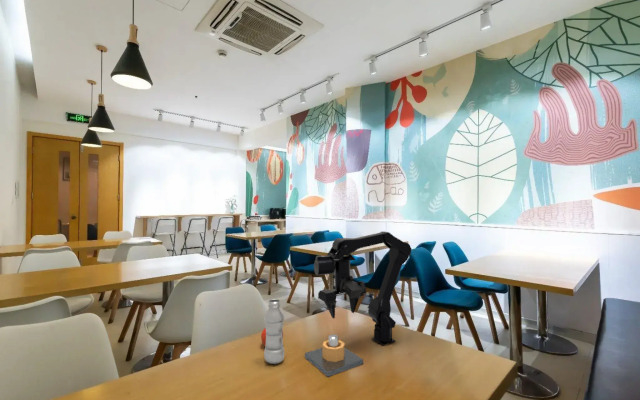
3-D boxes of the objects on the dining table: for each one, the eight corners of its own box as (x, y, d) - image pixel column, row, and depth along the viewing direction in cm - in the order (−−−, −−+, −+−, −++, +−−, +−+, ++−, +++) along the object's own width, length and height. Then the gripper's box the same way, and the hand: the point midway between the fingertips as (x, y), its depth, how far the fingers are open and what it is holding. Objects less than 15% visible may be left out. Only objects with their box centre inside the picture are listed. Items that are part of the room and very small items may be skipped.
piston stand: (338, 347, 108) (337, 325, 109) (363, 364, 97) (363, 339, 97) (304, 357, 101) (304, 333, 101) (327, 376, 89) (327, 350, 89)
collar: (336, 349, 104) (336, 337, 104) (348, 357, 98) (348, 345, 98) (319, 354, 100) (319, 342, 100) (330, 363, 94) (330, 350, 94)
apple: (286, 347, 109) (286, 325, 109) (266, 353, 104) (266, 330, 104) (277, 339, 115) (277, 318, 115) (257, 344, 111) (257, 323, 111)
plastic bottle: (280, 367, 94) (280, 304, 95) (260, 365, 96) (261, 303, 96) (286, 357, 101) (287, 298, 101) (268, 356, 102) (268, 297, 103)
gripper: (335, 280, 98) (336, 328, 97) (376, 273, 108) (377, 316, 108) (316, 275, 107) (317, 318, 106) (355, 268, 117) (356, 307, 117)
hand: (343, 315), depth 109 cm, fingers open, 9 cm apart
